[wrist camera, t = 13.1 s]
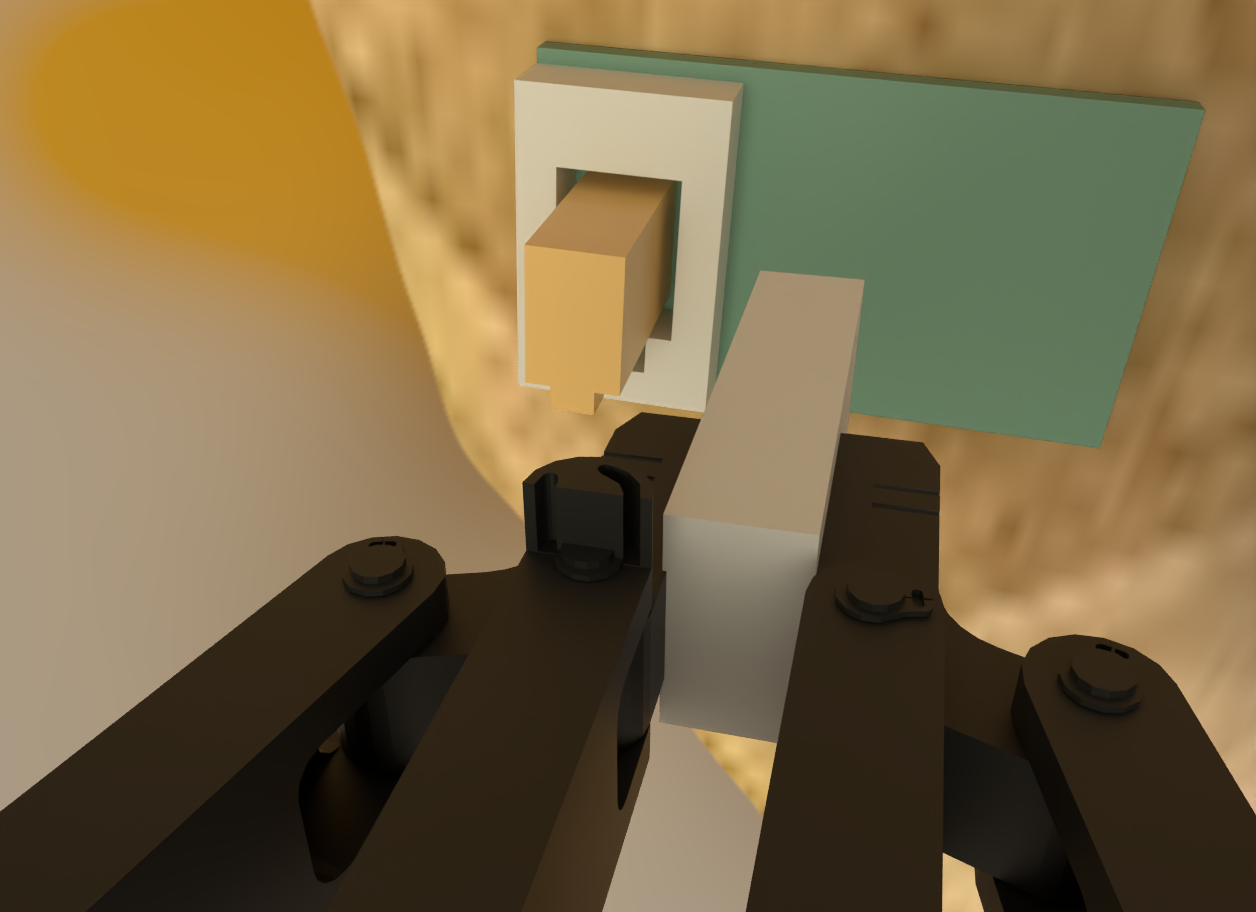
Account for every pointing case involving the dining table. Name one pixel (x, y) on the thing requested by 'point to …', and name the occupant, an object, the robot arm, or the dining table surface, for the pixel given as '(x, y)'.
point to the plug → (597, 286)
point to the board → (878, 221)
